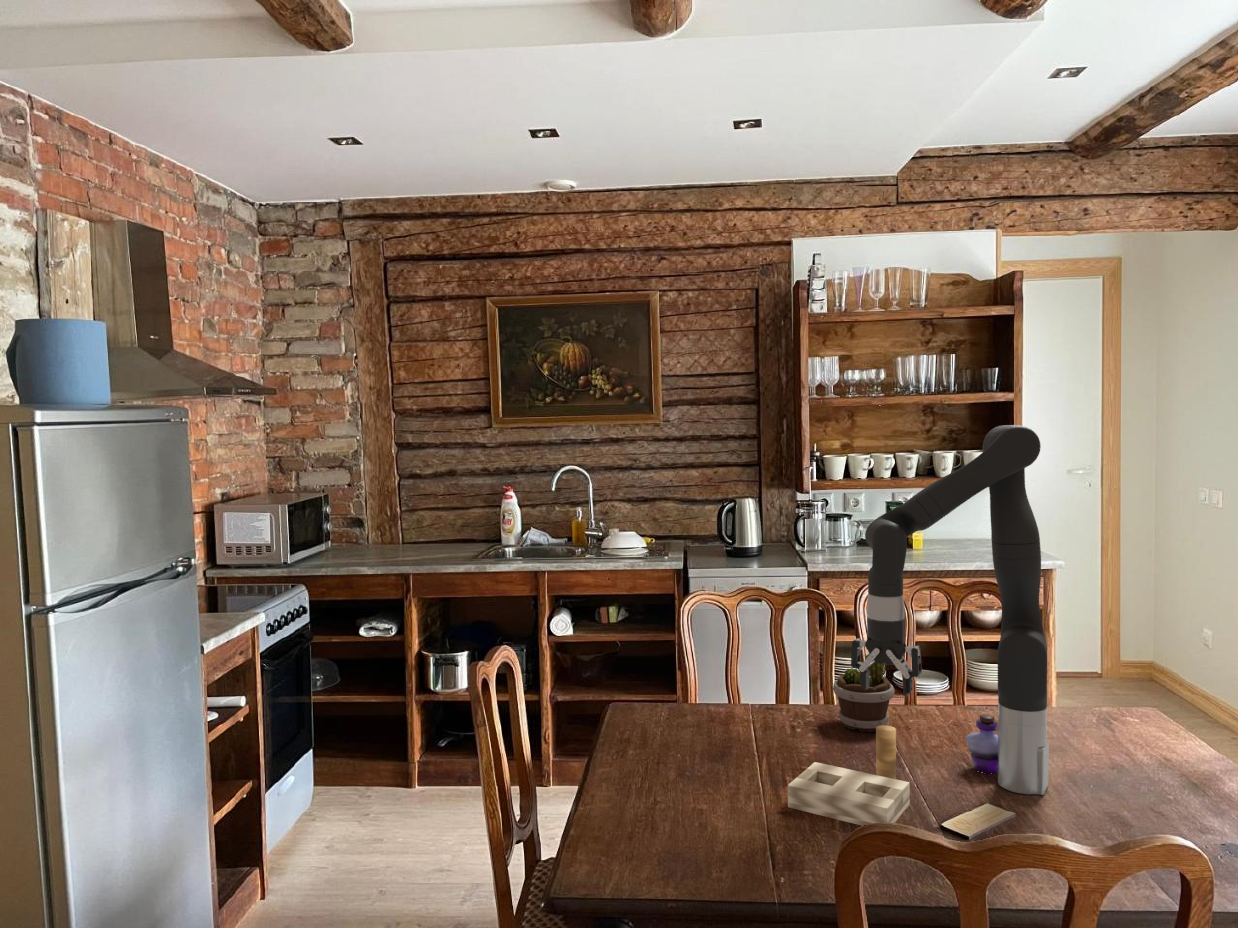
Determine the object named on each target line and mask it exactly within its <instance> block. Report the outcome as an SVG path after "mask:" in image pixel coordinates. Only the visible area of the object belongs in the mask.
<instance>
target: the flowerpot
mask: <svg viewBox="0 0 1238 928" xmlns="http://www.w3.org/2000/svg"><path fill="white" fill-rule="evenodd" d="M869 655H870V653H869V652H868V653H867V654H864V657H863V658H864V659H862V661H861V662H864V661H865V660H866V659H867V657H868V656H869ZM868 670H869V688H868V689H867V690H865V689H863V686H861V684H860V671H859V670H858V669H857V668H853V667H852V666H849V668H844V674H842V675H839V676H838V677H837V680H835V682H833V687H832V688H831V689H832V690H833V693H834V694H835V695H836V696H837V700H838V705H839V709H840V710H839V711H838V718H839V720H840V722H842V724H843V726H844V727H845V728H848V729H849V730H858V731H859V732H863V733H864V732H867V733H874V732H876V727H877V726H881V725H887V724H888V722H889V719H890V716H889V714H888V713H889V712H887V711H888V710H889V706H890V705H889V704H890V700H891V699H893V698H894V696H895V691H896V689H895V688H894V685H892V683H891V682H890V681H889V680H888V679H887V677H885V676H886V675H885V674H886V673H887V672H888V671H887V664H885V663H882V664H879V663H877V662H876V661H874V662H873V663H872V664H871V665H870V667H869V668H868Z"/></svg>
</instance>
